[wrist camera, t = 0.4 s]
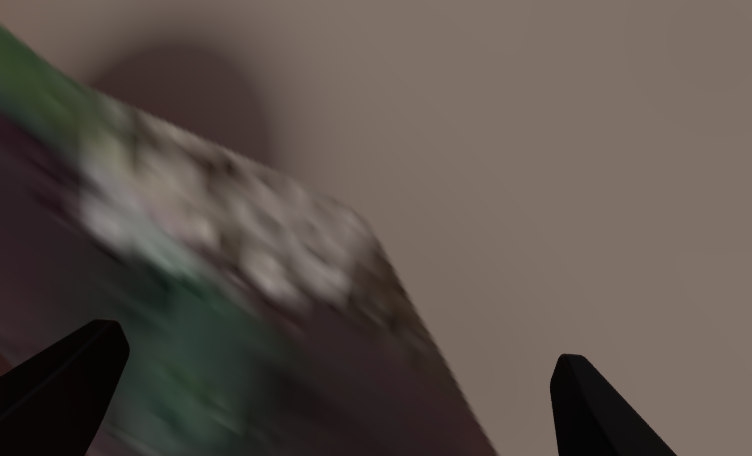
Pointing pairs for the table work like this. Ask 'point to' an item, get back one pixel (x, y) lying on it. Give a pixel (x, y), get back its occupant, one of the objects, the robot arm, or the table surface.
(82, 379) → the robot arm
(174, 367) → the table surface
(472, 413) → the table surface
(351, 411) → the table surface
